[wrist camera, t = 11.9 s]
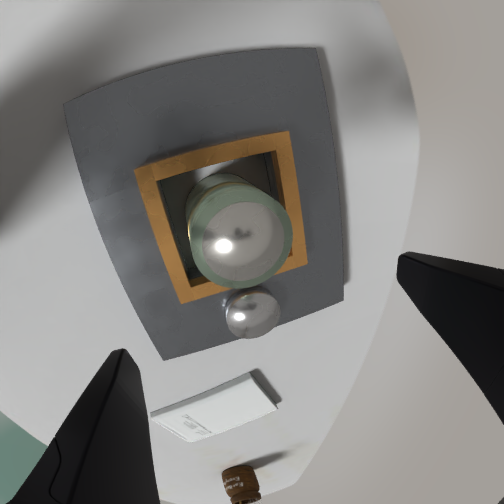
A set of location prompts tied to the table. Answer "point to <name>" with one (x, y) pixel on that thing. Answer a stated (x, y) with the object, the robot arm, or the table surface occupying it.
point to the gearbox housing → (201, 155)
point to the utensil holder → (241, 485)
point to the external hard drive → (216, 409)
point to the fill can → (236, 231)
